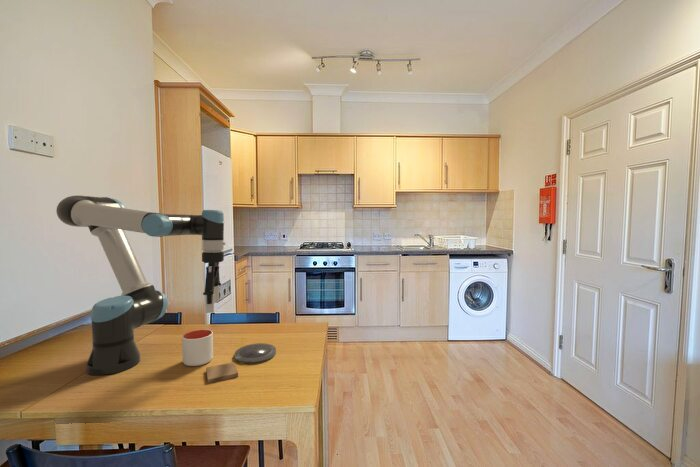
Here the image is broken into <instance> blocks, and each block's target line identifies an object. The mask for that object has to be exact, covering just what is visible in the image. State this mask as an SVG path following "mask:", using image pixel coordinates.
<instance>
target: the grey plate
mask: <svg viewBox="0 0 700 467" xmlns="http://www.w3.org/2000/svg"><path fill="white" fill-rule="evenodd" d="M276 353H277V348H276V346H274V345H273V344H270V343H263V342H262V343H251V344H246V345H243V346H241V347H239V348H238V349H237V350H235V352H234V360H235V361H236V362H237V363H241V364H246V365H247V364H248V365H252V364H254V365H255V364H259V363H265V362H267V361H270V360H271V359H273V358H274V357H275V356H276V355H277V354H276Z"/></svg>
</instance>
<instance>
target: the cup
mask: <svg viewBox="0 0 700 467" xmlns="http://www.w3.org/2000/svg"><path fill="white" fill-rule="evenodd" d="M181 339H182V340H181V341H182V342H181V344H182V345H181V346H182V347H181V348H182V363H183V364H184V365H185V366H188V367H198V366H202V365H206V364H208V363H209V362H211V361H212V359H213V357H214V332H213V331H212V330H211V329H196V330H192V331H191V330H190V331H188V332H186V333H184V334H183V335H182V336H181Z"/></svg>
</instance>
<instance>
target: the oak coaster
mask: <svg viewBox="0 0 700 467" xmlns="http://www.w3.org/2000/svg"><path fill="white" fill-rule="evenodd" d="M205 372H206V378H207V384H211V383H215V382H219V381H220V382H221V381H224V380H228V379H229V380H230V379H232V378H238V377H239V372H238V369H237V367H236V364H235V362H228V363H223V364H218V365H212V366H208V367H205Z"/></svg>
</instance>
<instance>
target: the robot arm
mask: <svg viewBox="0 0 700 467" xmlns="http://www.w3.org/2000/svg"><path fill="white" fill-rule="evenodd" d="M55 212H56V215H57V217H58V219H59V220H60V221H61V222H62V223H63V224H65V225H68V226H71V227H78V228H79V227H81V228H82V227H83V228H88V229H89V231H90V234H91V235H92V236H94V237H97V238H98V241H99V242H100V245H101V247H102V249H103V251H104V253H105V256H106V258H107V260H108V262H109V265H110V267H111V269H112V272H113V273H114V275H115V278H116V281H117V283H118V285H119V287H120V290H121V291H122V292H121V294H120V295H117V296H113V297H108V298H104V299H102V300H99V301H97V302H96V303H95V304H94V305H93V306H92V307H91V308H92V309H91V317H90V320H91V334H92V349H91V351H90V354H89V356H88V360H87V361H86V362H87V363H86V373H87V375H91V376H105V375H106V376H107V375H112V374H117V373H120V372H123V371H126V370H129V369H131V368H133V367H135V366H136V365H138V364H139V363H140V361H141V354H140V351H139V349H138V348H139V347H138V346H137V344H136V342H135V339H134V338H135V337H134V336H135V335H134V334H135V333H134V331H135V329H137V328H138V329H139V327H142V326H145V325H147V324H150V323H153V322H156V321H157V320H159V319H160V318H162V317H163V316H164V315H165V314H166V311H167V310H168V303H169V302H168V298H167V296H166V294H164V292H162V291H160V290H156V288H155V286H154V284H152V283H149V282H148V281H147V279H146V277H145V274H144V273H143V272H144V271H143V270H142V268H141V266H140V263H139V261H138V259H137V256H136V255H135V253H134V250H133V248H132V246H131V244H130V241H129V239H128V237H127V234H126V232H125V231H128V232H134V233H141V234H146V235H147V236H149V237H153V238H154V237H155V238H157V237H158V238H161V237H162V238H163V237H170V236H171V237H172V236H201V251H202V252H201V262H203V263H205V264H207V263H208V265H207V266H206V268H205V271H206V273H205V286H204V292H202V294H203V296H205V314H210V313H213V314H214V313H215V304H218V303H220V286H222V283H221V280H220V263H222V262H224V259H225V256H224V254H225V252H224V250H225V249H224V246H226V242H225V239H224V238H225V237H224V230H225V229H224V228H225V227H224V226H225V216H224V212H223V211H222V210H218V209H204V210H202V211H201V214H198V215H196V214H183V213H181V214H173V213H172V214H170V213H160V212H153V211H151V212H150V211H144V210H138V209H132V208H127V207H126V206H125V204H123V202H122V201H120V200H118V199H116V198H111V197H109V196H108V197H107V196H105V197H104V196H103V197H102V196H100V197H99V196H89V195H88V196H87V195H70V196H67V197H64V198H63V199H61V201H59V202H58V203H57V206H56V209H55Z"/></svg>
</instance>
